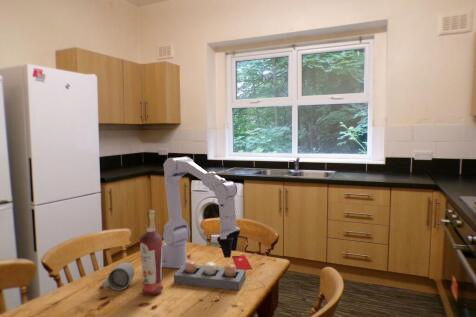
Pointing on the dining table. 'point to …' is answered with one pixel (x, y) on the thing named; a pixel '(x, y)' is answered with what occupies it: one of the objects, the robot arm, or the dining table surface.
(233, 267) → the light brown oval
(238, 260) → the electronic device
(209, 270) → the white egg
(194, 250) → the dining table surface
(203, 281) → the grey egg tray
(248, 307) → the dining table surface
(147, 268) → the liquor
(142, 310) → the dining table surface
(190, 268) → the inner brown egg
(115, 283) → the ceramic mug
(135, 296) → the dining table surface
